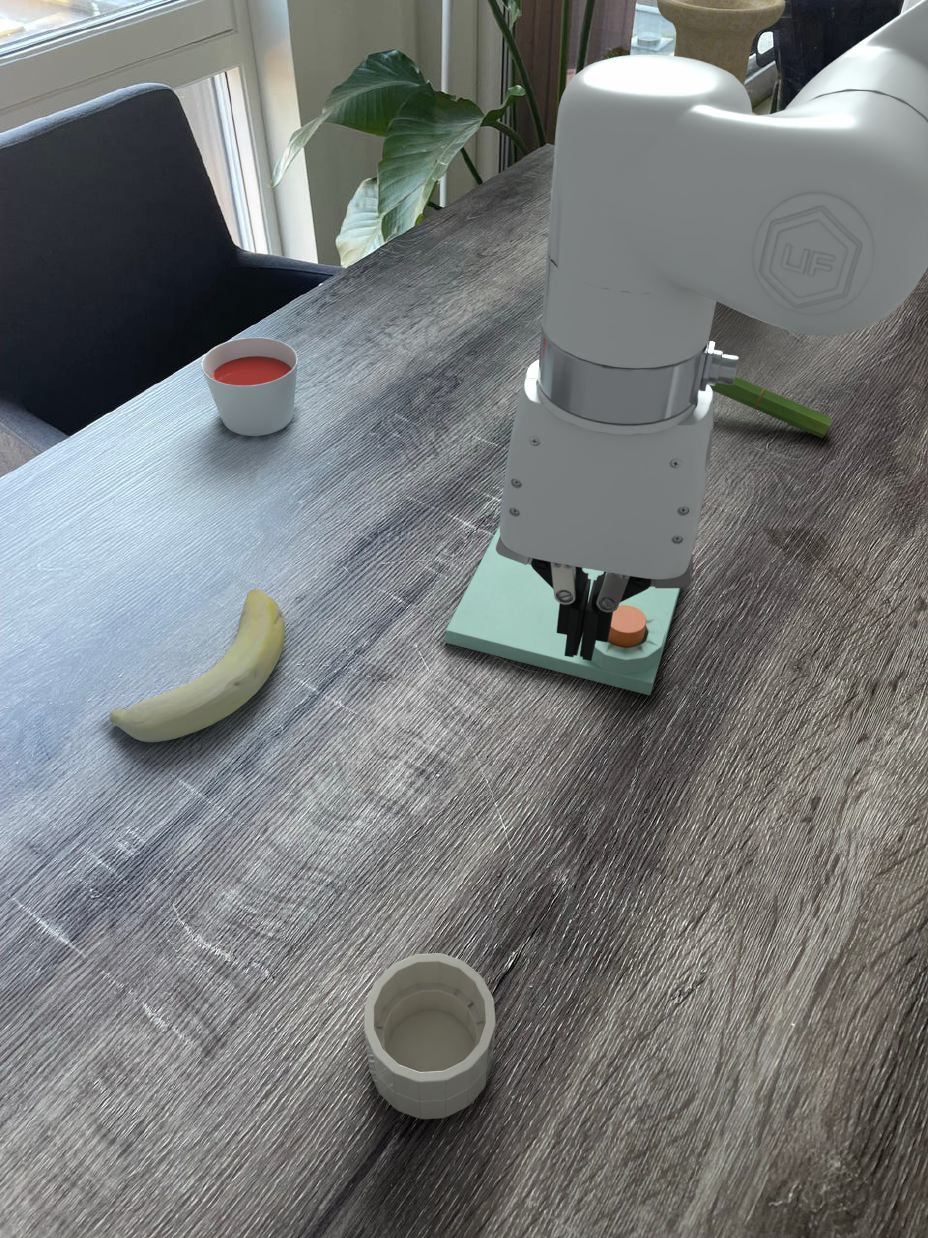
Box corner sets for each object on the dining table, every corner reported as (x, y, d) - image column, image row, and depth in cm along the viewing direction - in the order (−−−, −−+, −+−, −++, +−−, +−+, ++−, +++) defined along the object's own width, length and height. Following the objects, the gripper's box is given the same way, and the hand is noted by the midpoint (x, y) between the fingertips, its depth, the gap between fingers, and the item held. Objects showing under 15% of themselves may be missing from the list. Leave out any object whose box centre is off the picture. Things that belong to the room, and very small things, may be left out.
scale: (683, 576, 83) (690, 548, 81) (650, 696, 73) (656, 668, 71) (500, 534, 86) (501, 506, 84) (445, 643, 77) (445, 615, 75)
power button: (647, 625, 75) (650, 610, 74) (639, 652, 73) (642, 637, 72) (608, 615, 76) (610, 600, 74) (599, 642, 73) (601, 627, 72)
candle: (225, 452, 95) (214, 394, 90) (202, 404, 100) (191, 347, 96) (315, 431, 97) (309, 374, 93) (288, 386, 103) (281, 330, 99)
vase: (785, 321, 115) (862, 26, 94) (590, 317, 115) (623, 21, 94) (747, 238, 131) (805, -30, 110) (576, 235, 131) (601, -34, 110)
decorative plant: (826, 438, 94) (539, 312, 98) (791, 494, 101) (524, 375, 105) (842, 398, 97) (563, 278, 101) (807, 456, 104) (547, 341, 108)
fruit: (326, 644, 77) (322, 613, 74) (179, 773, 68) (170, 742, 65) (257, 607, 80) (252, 575, 77) (108, 725, 71) (97, 693, 68)
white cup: (506, 1022, 56) (511, 976, 52) (468, 1142, 51) (470, 1101, 47) (396, 984, 57) (393, 937, 53) (350, 1097, 53) (342, 1055, 49)
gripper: (787, 347, 47) (714, 623, 60) (482, 305, 50) (474, 578, 63) (783, 432, 42) (704, 714, 55) (442, 381, 45) (443, 662, 58)
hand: (582, 641), depth 59 cm, fingers closed
